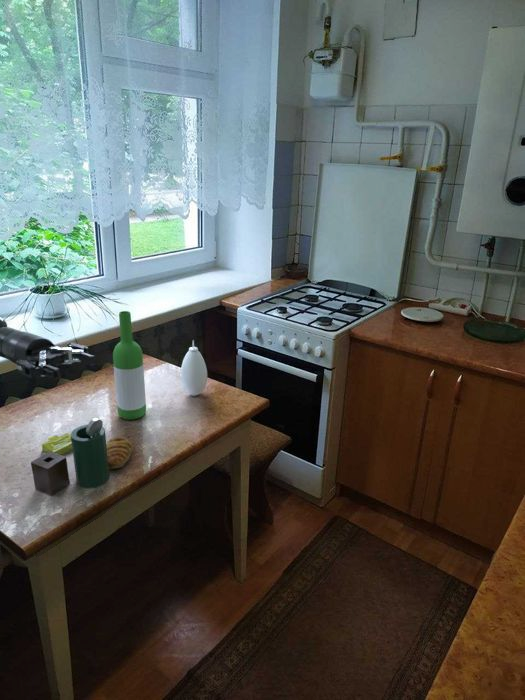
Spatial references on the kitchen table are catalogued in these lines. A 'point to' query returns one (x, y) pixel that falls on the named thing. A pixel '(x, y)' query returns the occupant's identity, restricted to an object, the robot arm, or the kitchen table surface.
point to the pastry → (118, 452)
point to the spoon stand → (50, 473)
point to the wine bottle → (129, 372)
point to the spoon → (94, 427)
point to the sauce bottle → (193, 372)
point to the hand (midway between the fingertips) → (76, 367)
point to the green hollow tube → (90, 457)
